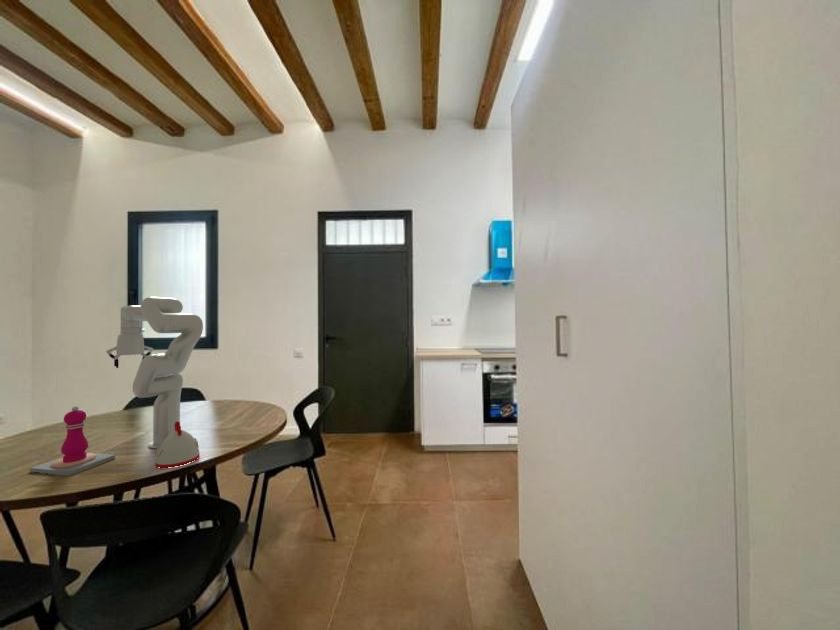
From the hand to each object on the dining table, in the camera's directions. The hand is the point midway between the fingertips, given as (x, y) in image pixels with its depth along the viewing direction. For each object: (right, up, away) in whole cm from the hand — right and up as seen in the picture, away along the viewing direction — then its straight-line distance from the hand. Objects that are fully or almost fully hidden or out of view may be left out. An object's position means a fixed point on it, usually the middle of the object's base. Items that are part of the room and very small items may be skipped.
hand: (130, 366), depth 163 cm
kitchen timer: (+47, -32, -33) cm, 65 cm away
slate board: (+10, -32, -36) cm, 49 cm away
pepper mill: (+10, -30, -36) cm, 48 cm away
